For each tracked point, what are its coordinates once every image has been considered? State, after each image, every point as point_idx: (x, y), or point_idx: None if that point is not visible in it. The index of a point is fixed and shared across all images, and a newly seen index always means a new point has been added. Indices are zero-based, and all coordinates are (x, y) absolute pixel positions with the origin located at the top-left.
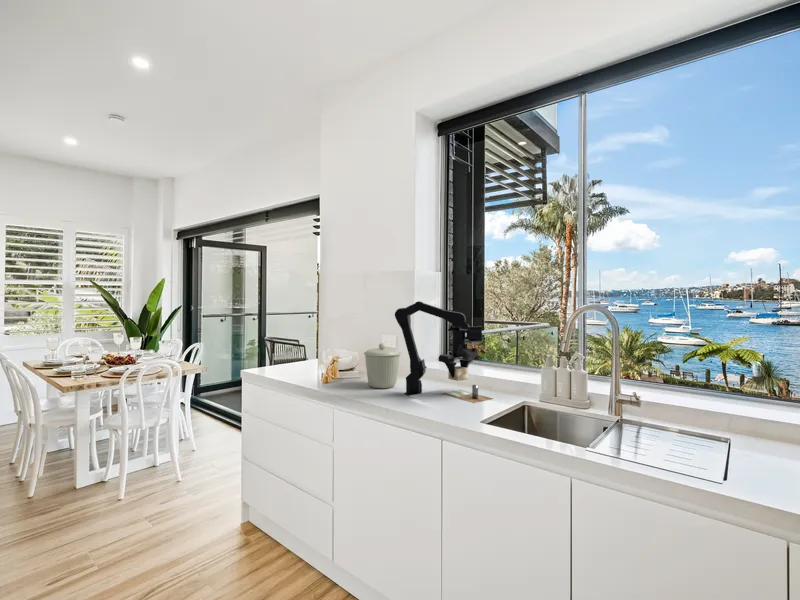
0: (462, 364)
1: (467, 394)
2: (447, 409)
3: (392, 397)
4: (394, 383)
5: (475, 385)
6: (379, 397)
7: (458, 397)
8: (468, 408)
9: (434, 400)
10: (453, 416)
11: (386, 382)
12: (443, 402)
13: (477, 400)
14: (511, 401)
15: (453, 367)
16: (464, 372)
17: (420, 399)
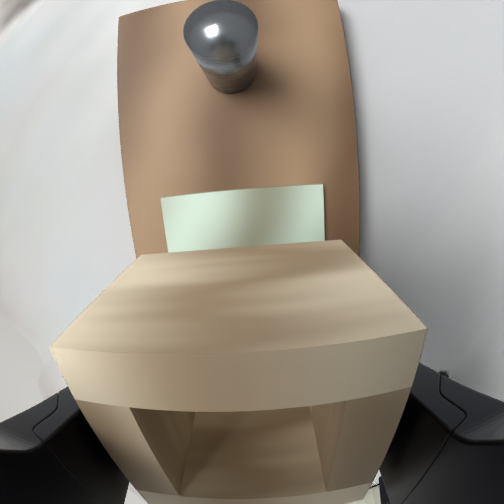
0: (96, 498)
1: (207, 192)
2: (480, 80)
3: (485, 385)
4: (369, 497)
5: (227, 17)
6: (500, 393)
7: (332, 167)
8: (381, 9)
9: (431, 268)
10: (494, 8)
11: None
12: (426, 199)
13: (263, 19)
14: (42, 24)
15: (475, 409)
16: (190, 298)
17: (458, 320)
